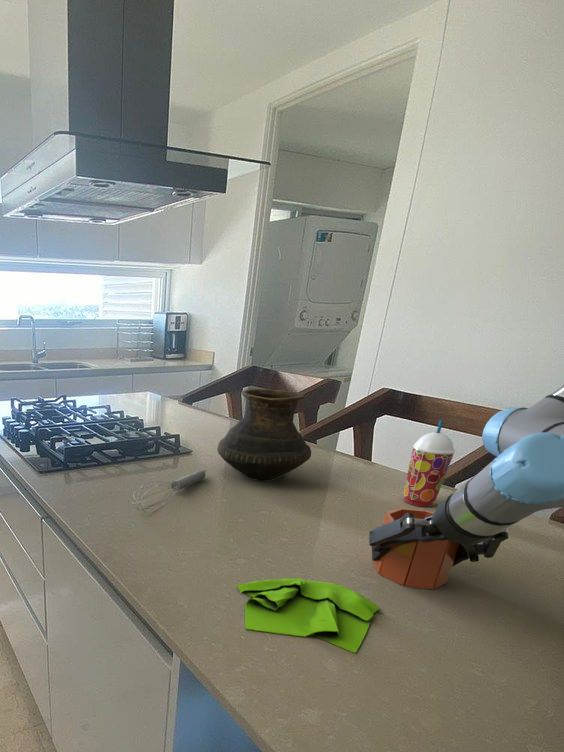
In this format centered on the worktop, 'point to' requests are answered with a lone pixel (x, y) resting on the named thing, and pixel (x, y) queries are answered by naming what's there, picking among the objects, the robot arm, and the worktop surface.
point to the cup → (417, 557)
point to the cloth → (308, 610)
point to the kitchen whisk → (176, 485)
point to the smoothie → (428, 468)
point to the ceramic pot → (266, 436)
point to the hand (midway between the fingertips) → (409, 557)
